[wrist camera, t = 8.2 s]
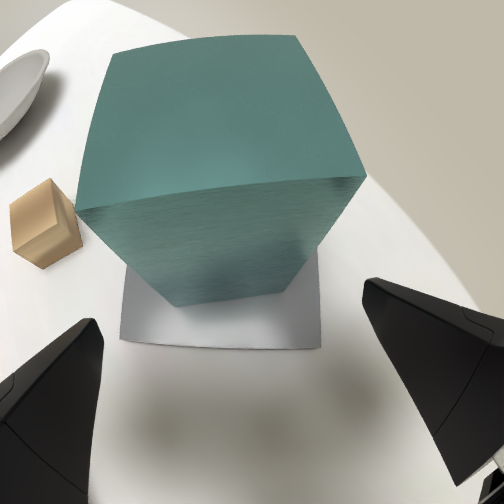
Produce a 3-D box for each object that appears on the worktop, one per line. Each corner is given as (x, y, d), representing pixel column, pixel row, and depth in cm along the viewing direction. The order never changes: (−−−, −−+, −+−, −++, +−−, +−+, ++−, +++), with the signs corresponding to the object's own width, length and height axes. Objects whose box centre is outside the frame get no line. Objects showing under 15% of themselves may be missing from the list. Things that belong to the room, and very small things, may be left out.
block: (83, 246, 19) (57, 223, 15) (43, 269, 18) (13, 251, 14) (73, 204, 20) (50, 177, 16) (36, 227, 19) (9, 205, 15)
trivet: (316, 348, 17) (321, 347, 16) (125, 340, 17) (119, 339, 16) (307, 181, 21) (310, 173, 20) (148, 176, 21) (145, 168, 20)
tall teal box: (283, 292, 17) (367, 175, 6) (174, 307, 17) (74, 211, 5) (264, 197, 20) (295, 35, 8) (167, 209, 19) (112, 54, 8)
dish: (40, 160, 21) (16, 127, 16) (-43, 196, 19) (-66, 175, 15) (76, 62, 27) (65, 35, 22) (-1, 97, 25) (-14, 75, 20)
